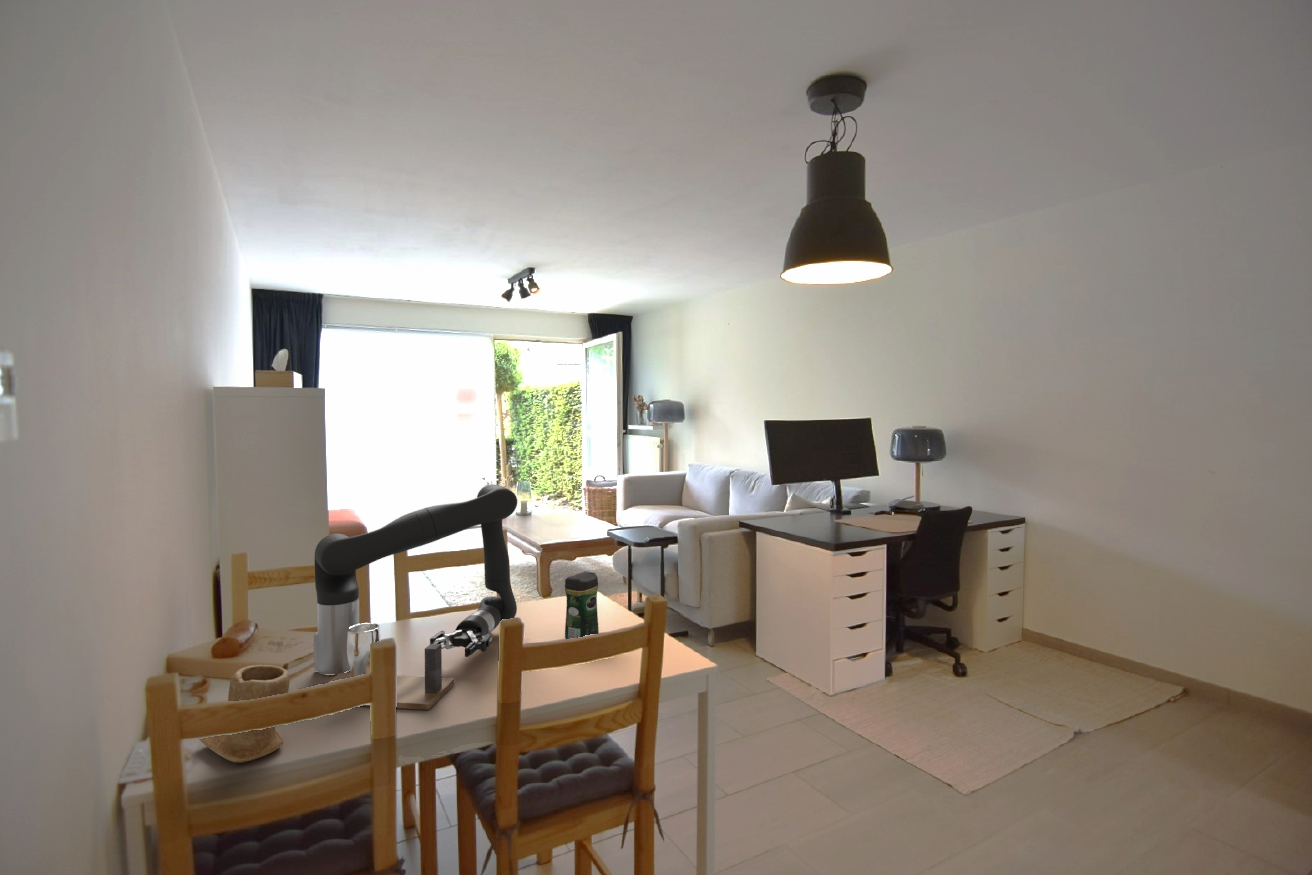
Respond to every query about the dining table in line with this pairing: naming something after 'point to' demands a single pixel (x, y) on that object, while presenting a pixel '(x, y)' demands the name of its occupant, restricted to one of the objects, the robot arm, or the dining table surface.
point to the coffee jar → (581, 605)
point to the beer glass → (361, 646)
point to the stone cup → (246, 687)
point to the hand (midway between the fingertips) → (448, 652)
